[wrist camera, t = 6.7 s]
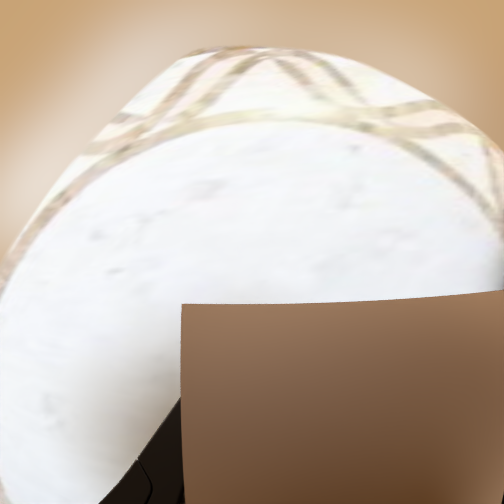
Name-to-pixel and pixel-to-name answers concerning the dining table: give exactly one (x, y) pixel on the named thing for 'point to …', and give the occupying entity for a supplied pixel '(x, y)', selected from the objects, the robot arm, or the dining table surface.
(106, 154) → the dining table surface
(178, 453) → the robot arm
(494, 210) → the dining table surface
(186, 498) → the walnut block
